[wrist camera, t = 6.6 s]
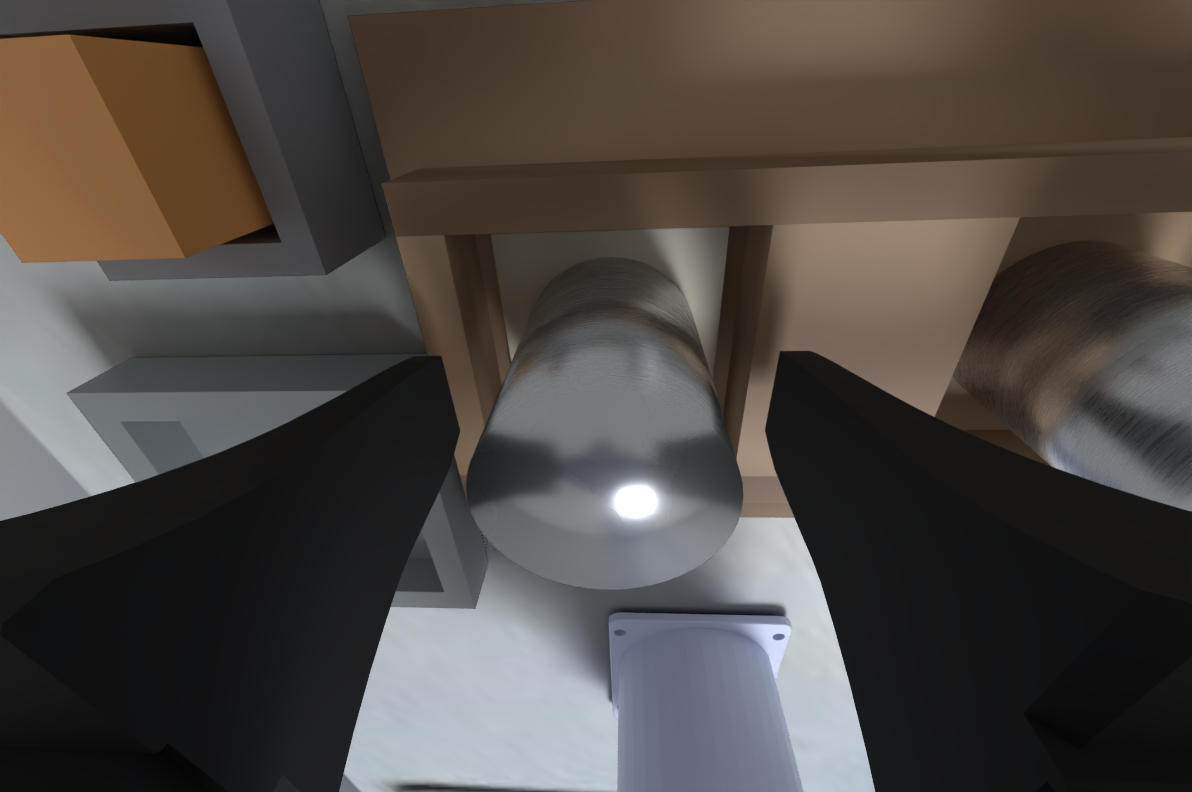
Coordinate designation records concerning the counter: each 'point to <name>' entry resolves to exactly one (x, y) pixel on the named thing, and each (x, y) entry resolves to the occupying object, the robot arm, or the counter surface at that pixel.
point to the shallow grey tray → (253, 407)
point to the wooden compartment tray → (773, 175)
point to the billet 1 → (607, 437)
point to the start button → (118, 152)
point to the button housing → (250, 124)
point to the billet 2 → (1092, 365)
